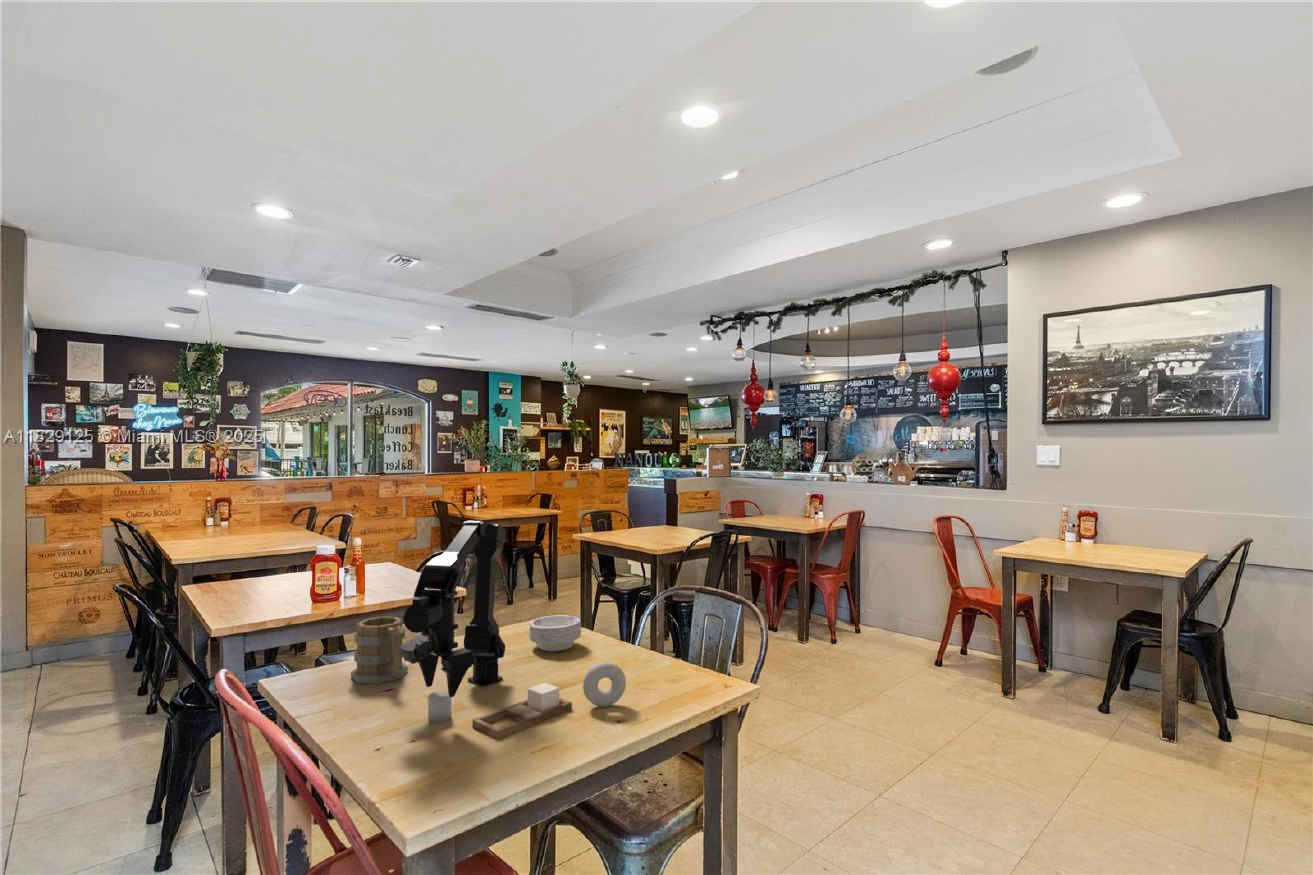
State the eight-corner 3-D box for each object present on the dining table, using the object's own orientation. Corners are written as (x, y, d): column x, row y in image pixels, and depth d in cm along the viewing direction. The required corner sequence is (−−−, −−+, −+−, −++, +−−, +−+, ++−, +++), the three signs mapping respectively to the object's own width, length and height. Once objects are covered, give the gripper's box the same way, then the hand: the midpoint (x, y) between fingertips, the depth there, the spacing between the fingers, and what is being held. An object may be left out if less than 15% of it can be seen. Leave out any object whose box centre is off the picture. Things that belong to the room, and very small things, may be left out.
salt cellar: (423, 718, 142) (424, 695, 142) (443, 711, 146) (443, 689, 146) (435, 724, 139) (435, 701, 139) (455, 717, 142) (455, 694, 143)
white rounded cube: (527, 711, 146) (527, 688, 146) (544, 704, 150) (544, 682, 150) (542, 717, 143) (542, 694, 143) (559, 710, 147) (559, 687, 147)
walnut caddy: (472, 726, 137) (472, 719, 138) (546, 699, 153) (546, 692, 153) (497, 739, 132) (497, 731, 132) (571, 709, 147) (571, 702, 147)
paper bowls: (525, 643, 198) (525, 616, 198) (574, 637, 203) (574, 612, 203) (534, 658, 183) (534, 629, 183) (586, 651, 189) (586, 624, 189)
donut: (584, 711, 145) (584, 666, 146) (581, 705, 149) (581, 662, 149) (627, 707, 148) (627, 662, 148) (624, 701, 151) (624, 658, 152)
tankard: (346, 674, 170) (347, 616, 170) (395, 663, 178) (395, 609, 179) (372, 696, 155) (372, 632, 155) (424, 683, 163) (424, 623, 164)
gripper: (384, 620, 143) (384, 691, 142) (429, 636, 130) (429, 714, 130) (430, 610, 151) (430, 678, 151) (477, 624, 139) (476, 698, 139)
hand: (440, 691), depth 142 cm, fingers open, 9 cm apart
